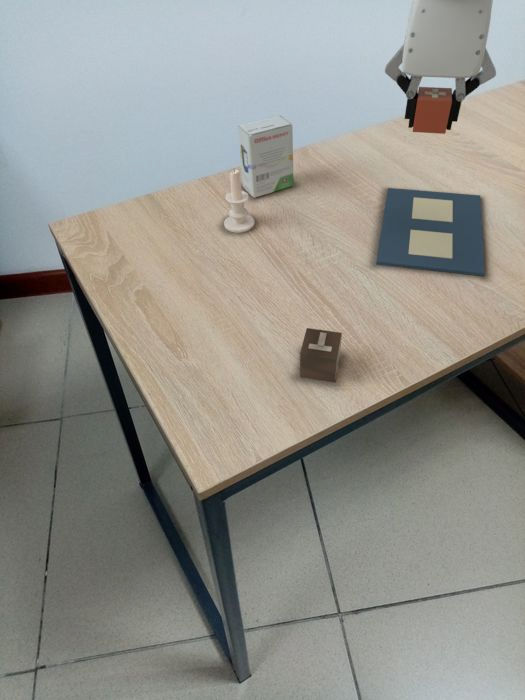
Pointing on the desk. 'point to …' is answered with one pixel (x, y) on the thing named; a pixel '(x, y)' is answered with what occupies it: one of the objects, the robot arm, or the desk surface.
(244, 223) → the candle
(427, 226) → the mat
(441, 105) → the rust brown block
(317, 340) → the wooden letter block
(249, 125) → the ink box
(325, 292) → the desk surface
